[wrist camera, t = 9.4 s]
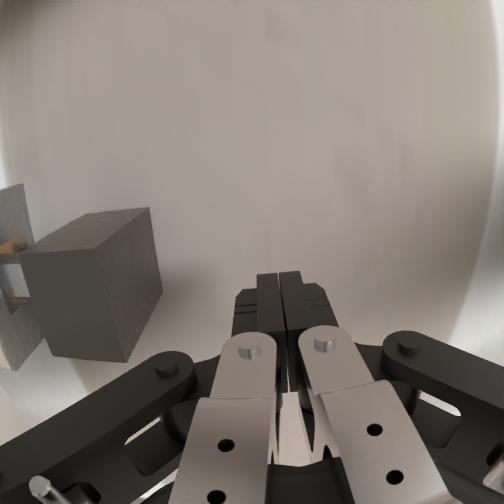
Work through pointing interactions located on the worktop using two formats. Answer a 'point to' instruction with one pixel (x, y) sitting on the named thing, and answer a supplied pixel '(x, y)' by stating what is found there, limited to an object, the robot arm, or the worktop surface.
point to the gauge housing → (16, 308)
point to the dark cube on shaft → (90, 283)
